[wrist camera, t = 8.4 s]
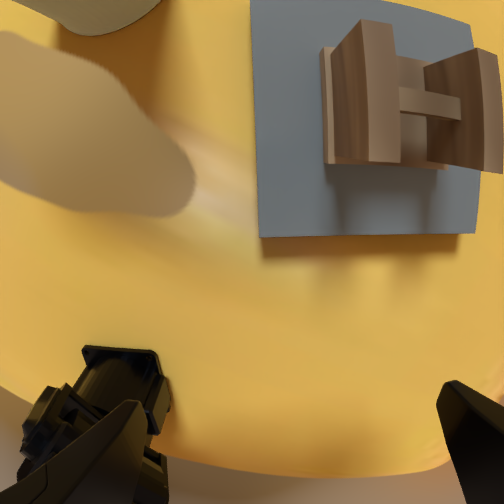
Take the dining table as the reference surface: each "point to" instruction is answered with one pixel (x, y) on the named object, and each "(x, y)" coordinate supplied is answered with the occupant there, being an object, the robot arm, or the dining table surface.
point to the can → (92, 13)
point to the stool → (409, 105)
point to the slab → (311, 128)
